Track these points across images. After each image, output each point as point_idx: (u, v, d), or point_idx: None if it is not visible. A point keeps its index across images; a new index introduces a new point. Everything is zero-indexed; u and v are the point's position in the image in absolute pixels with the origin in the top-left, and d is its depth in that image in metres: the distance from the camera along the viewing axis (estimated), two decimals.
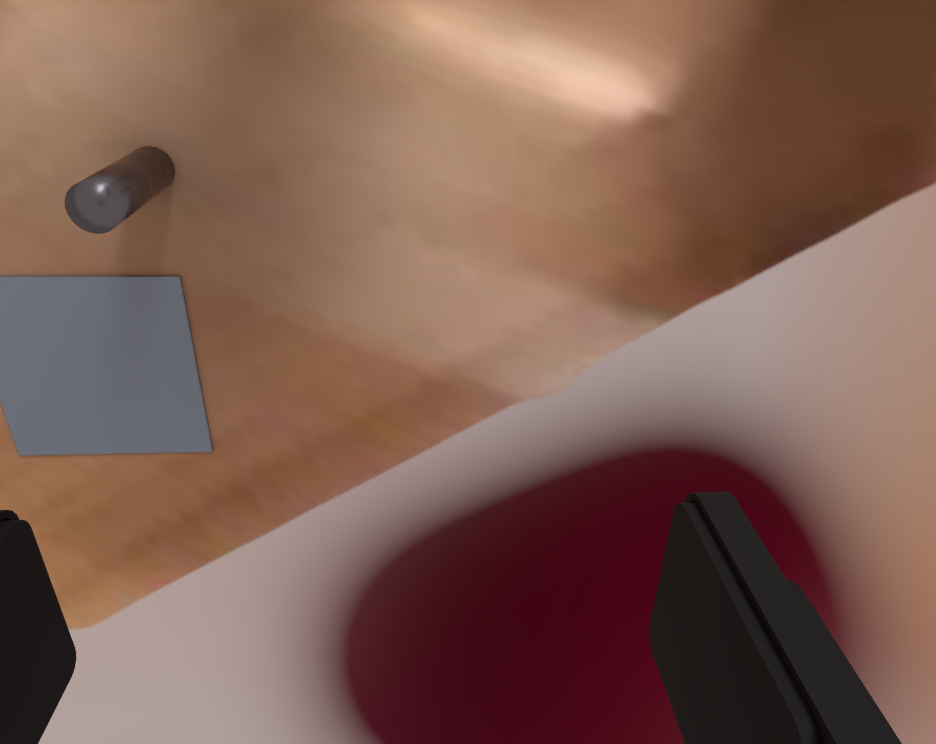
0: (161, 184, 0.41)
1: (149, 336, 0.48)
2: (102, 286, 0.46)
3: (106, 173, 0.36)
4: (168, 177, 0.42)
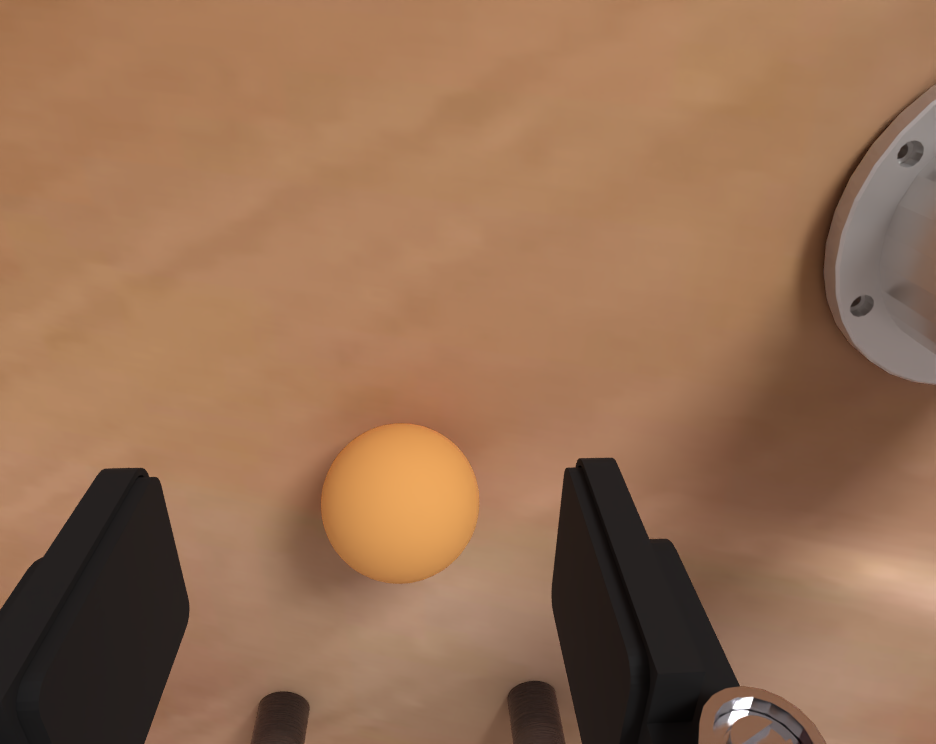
0: None
1: None
2: None
3: None
4: None
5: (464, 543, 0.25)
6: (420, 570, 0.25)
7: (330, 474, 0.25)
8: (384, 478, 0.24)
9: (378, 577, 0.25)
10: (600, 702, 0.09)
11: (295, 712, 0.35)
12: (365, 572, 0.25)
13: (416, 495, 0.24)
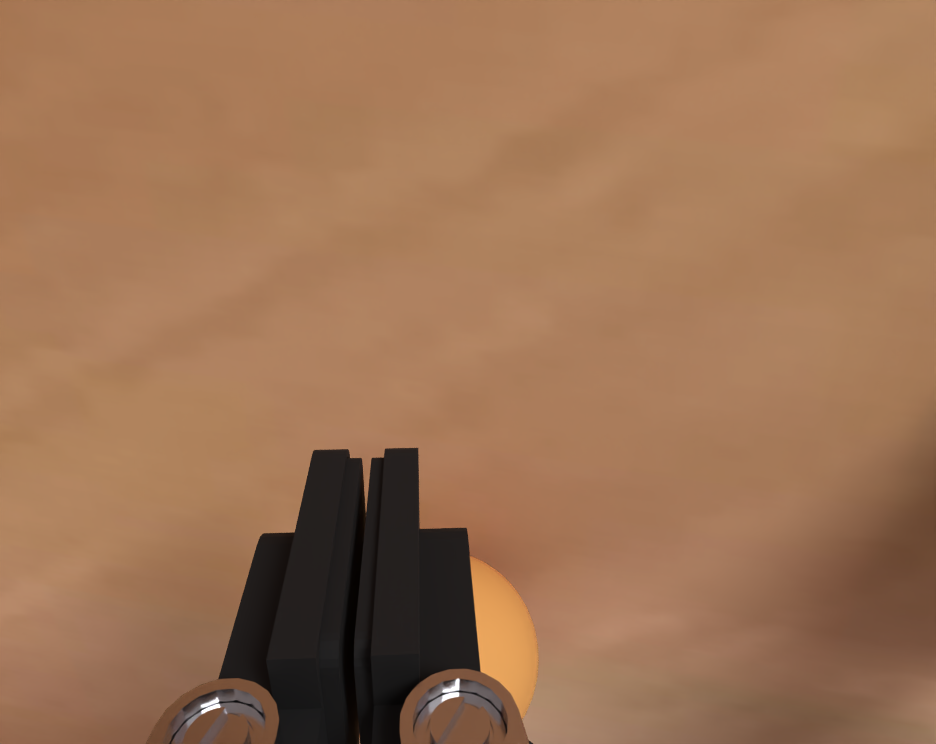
0: None
1: None
2: None
3: None
4: None
5: None
6: None
7: None
8: None
9: None
10: None
11: None
12: None
13: None
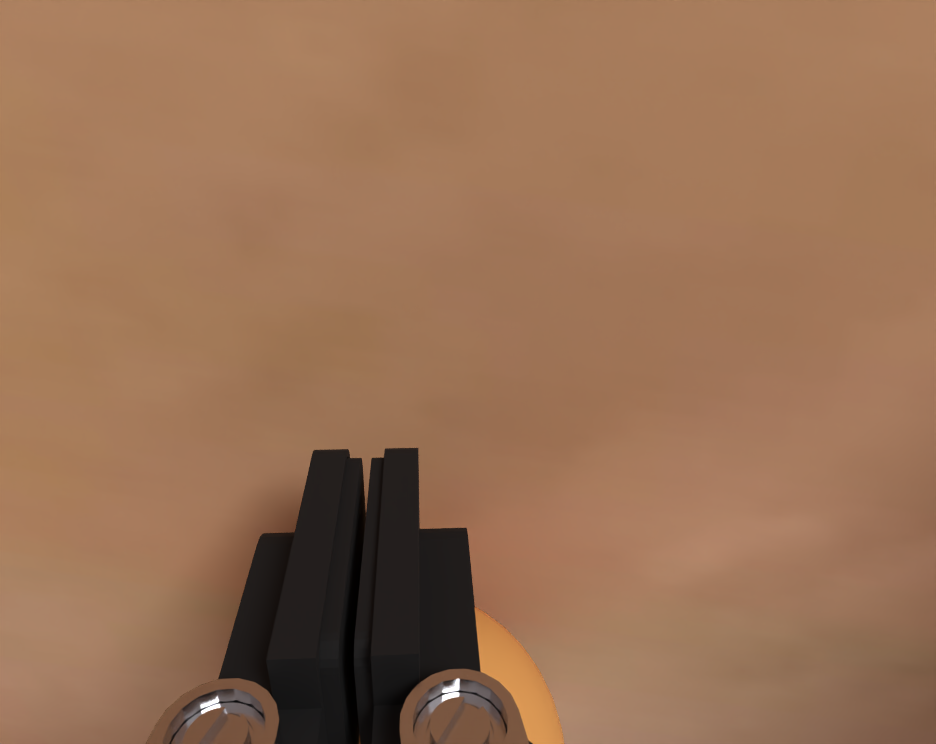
0: None
1: None
2: None
3: None
4: None
5: None
6: None
7: None
8: None
9: None
10: None
11: None
12: None
13: None
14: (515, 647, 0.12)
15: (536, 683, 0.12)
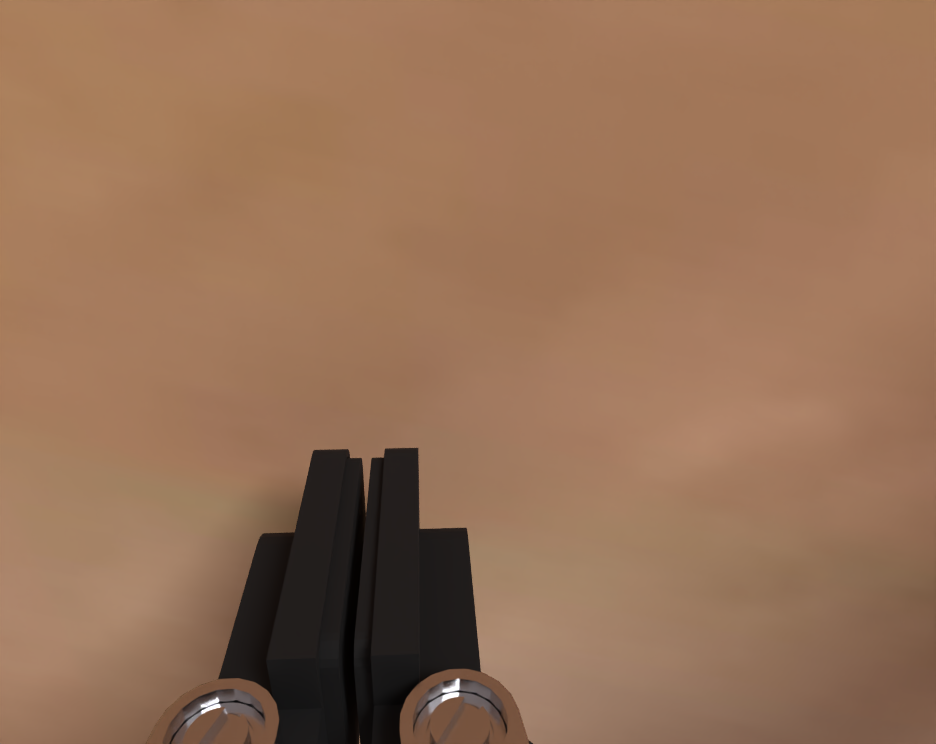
0: None
1: None
2: None
3: None
4: None
5: None
6: None
7: None
8: None
9: None
10: None
11: None
12: None
13: None
14: None
15: None
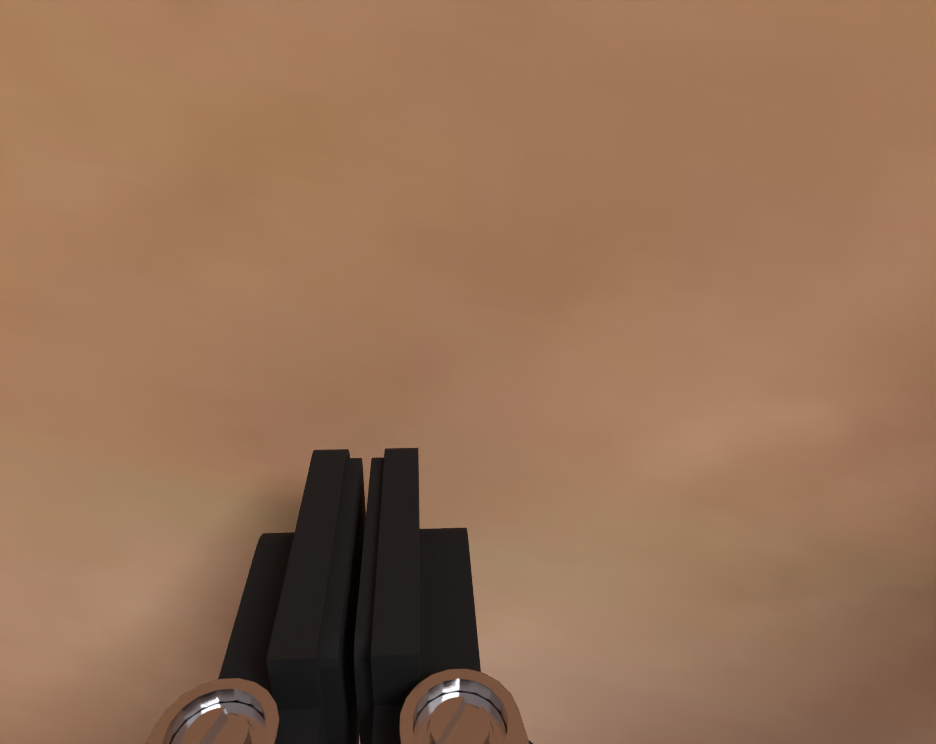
0: None
1: None
2: None
3: None
4: None
5: None
6: None
7: None
8: None
9: None
10: None
11: None
12: None
13: None
14: None
15: None
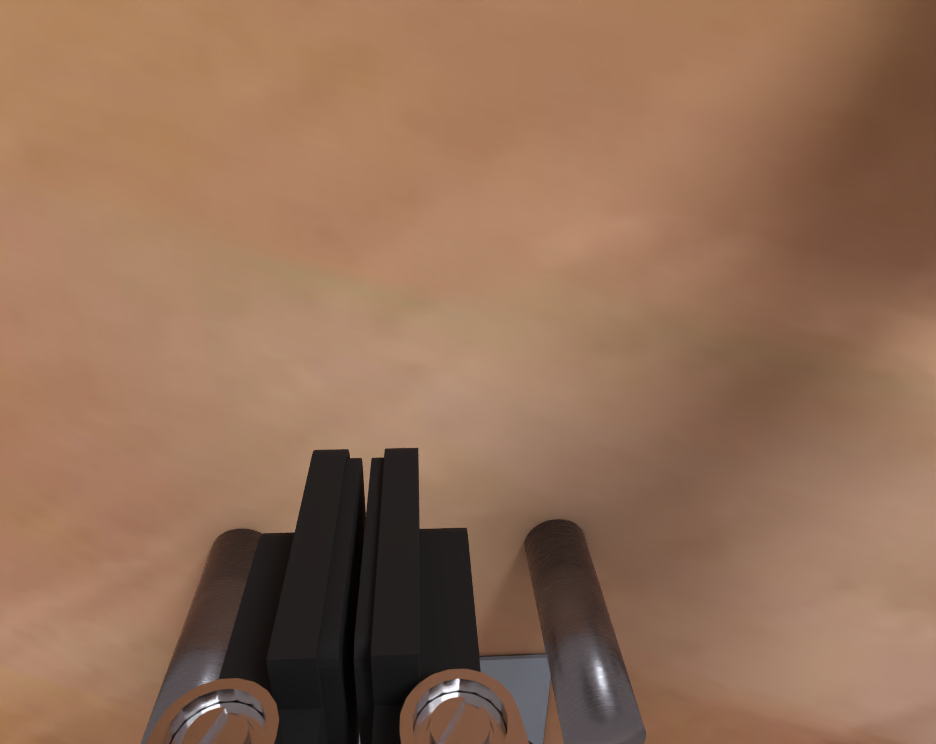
0: None
1: None
2: None
3: (601, 660, 0.23)
4: None
5: None
6: None
7: None
8: None
9: None
10: None
11: None
12: None
13: None
14: None
15: None
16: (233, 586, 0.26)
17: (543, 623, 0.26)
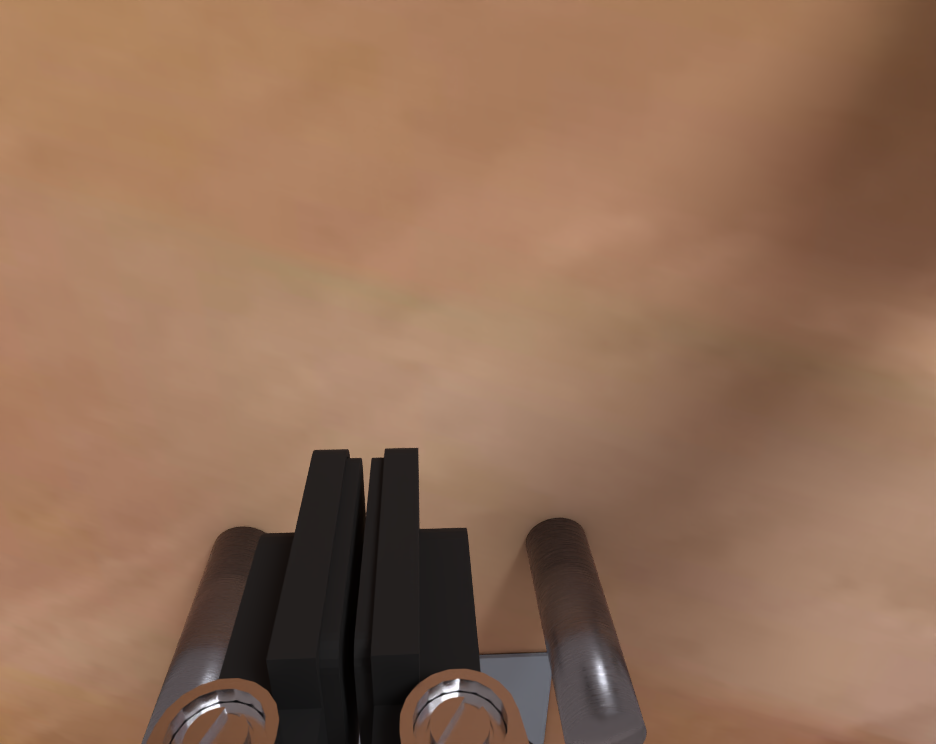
0: None
1: None
2: None
3: (602, 658, 0.23)
4: None
5: None
6: None
7: None
8: None
9: None
10: None
11: None
12: None
13: None
14: None
15: None
16: (234, 584, 0.26)
17: (544, 621, 0.26)
